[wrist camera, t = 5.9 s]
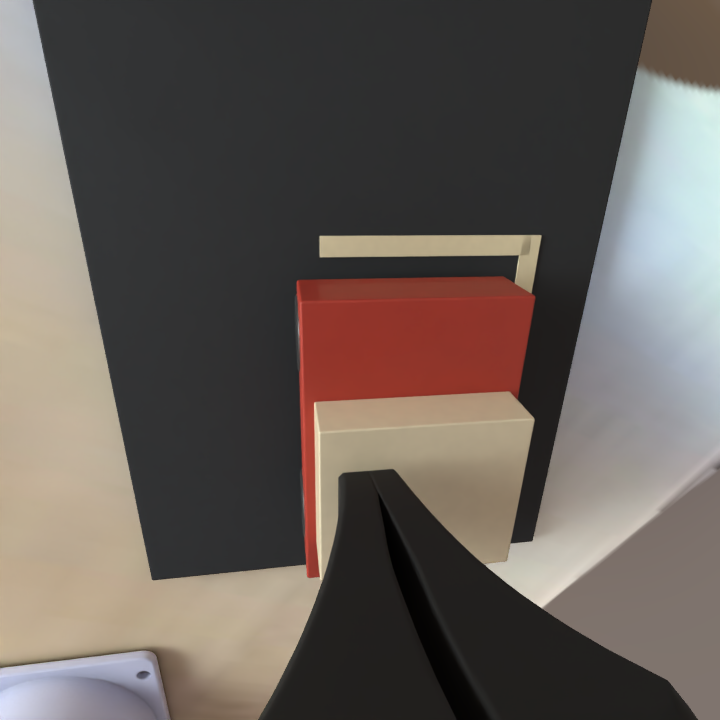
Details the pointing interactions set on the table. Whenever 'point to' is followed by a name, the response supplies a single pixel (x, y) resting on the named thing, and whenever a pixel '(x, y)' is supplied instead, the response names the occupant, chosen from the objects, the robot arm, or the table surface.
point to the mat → (318, 214)
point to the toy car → (415, 400)
